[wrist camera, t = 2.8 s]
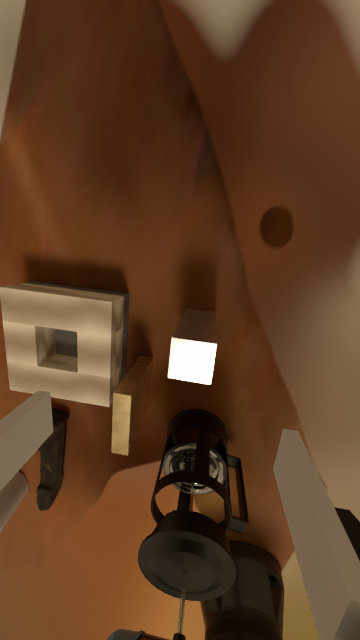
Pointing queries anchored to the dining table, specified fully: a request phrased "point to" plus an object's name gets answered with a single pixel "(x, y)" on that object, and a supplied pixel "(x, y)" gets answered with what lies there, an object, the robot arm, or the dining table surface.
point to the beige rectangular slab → (131, 404)
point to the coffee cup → (12, 497)
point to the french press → (194, 516)
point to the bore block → (65, 340)
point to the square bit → (194, 347)
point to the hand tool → (52, 462)
